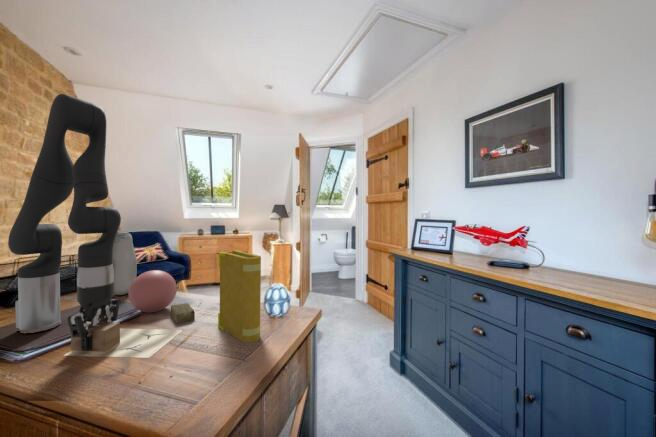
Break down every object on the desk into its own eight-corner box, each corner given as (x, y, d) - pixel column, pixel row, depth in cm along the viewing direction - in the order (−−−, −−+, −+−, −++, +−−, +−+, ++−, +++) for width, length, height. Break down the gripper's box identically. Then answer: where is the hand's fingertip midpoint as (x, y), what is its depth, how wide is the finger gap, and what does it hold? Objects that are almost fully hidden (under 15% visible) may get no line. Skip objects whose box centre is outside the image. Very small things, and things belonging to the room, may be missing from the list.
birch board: (63, 361, 71) (63, 355, 71) (112, 333, 87) (112, 328, 87) (149, 363, 71) (149, 357, 71) (182, 334, 87) (182, 330, 87)
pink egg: (162, 298, 119) (162, 263, 119) (183, 310, 107) (183, 270, 106) (118, 308, 107) (118, 268, 107) (137, 322, 95) (136, 277, 94)
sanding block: (71, 351, 72) (70, 329, 72) (87, 342, 77) (87, 321, 77) (105, 353, 72) (105, 330, 72) (119, 343, 77) (119, 322, 77)
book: (218, 327, 93) (218, 252, 92) (236, 321, 98) (237, 250, 97) (245, 344, 81) (246, 259, 80) (264, 337, 86) (265, 256, 85)
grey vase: (115, 291, 128) (114, 230, 127) (140, 290, 130) (139, 230, 129) (103, 298, 118) (102, 232, 117) (130, 297, 121) (130, 232, 120)
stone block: (176, 329, 91) (176, 314, 91) (169, 318, 100) (169, 304, 99) (195, 325, 94) (195, 310, 94) (187, 314, 103) (187, 301, 103)
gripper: (104, 274, 81) (104, 332, 82) (55, 289, 67) (55, 358, 68) (129, 275, 81) (129, 333, 82) (85, 290, 67) (86, 360, 68)
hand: (96, 344), depth 75 cm, fingers closed on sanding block, 5 cm apart
